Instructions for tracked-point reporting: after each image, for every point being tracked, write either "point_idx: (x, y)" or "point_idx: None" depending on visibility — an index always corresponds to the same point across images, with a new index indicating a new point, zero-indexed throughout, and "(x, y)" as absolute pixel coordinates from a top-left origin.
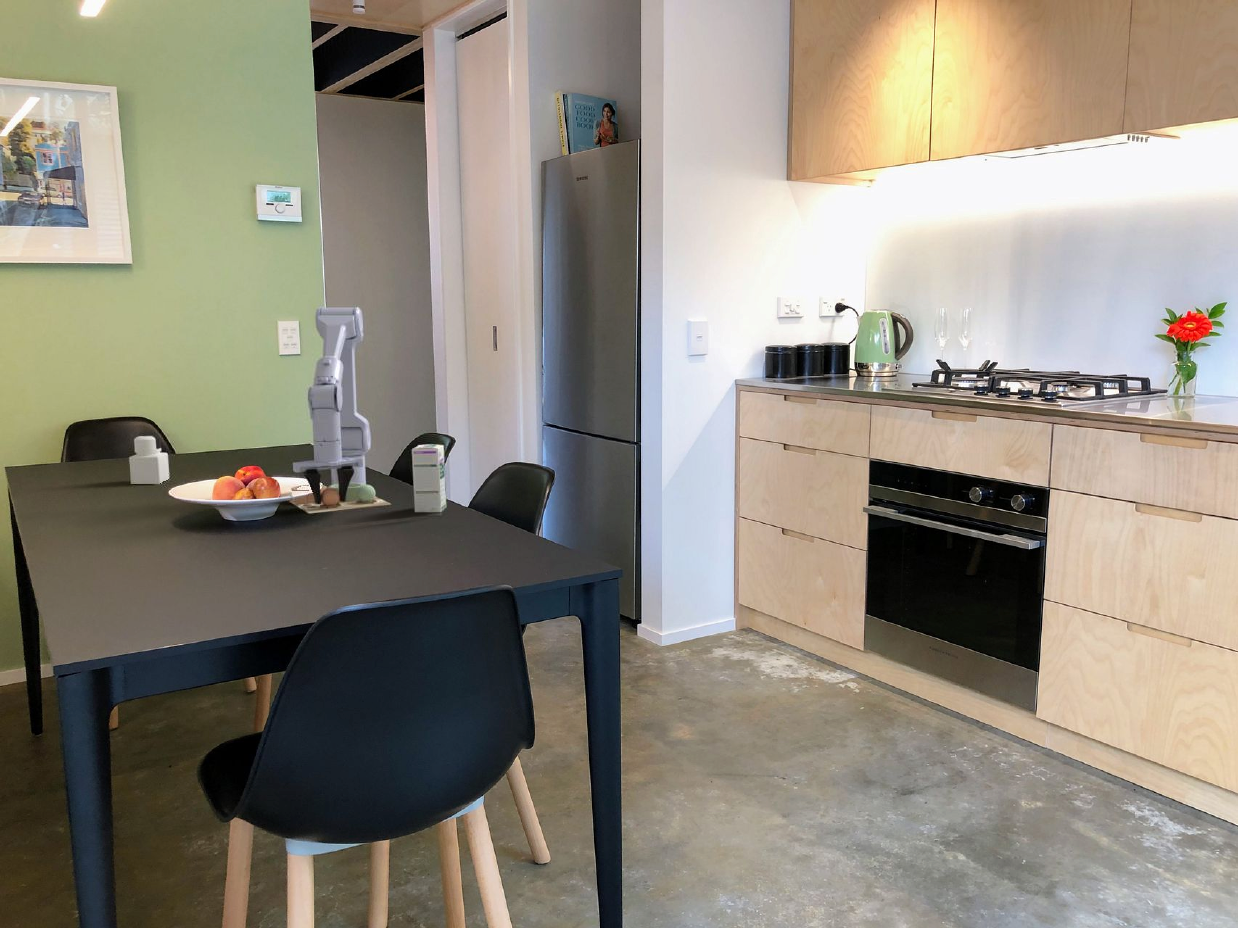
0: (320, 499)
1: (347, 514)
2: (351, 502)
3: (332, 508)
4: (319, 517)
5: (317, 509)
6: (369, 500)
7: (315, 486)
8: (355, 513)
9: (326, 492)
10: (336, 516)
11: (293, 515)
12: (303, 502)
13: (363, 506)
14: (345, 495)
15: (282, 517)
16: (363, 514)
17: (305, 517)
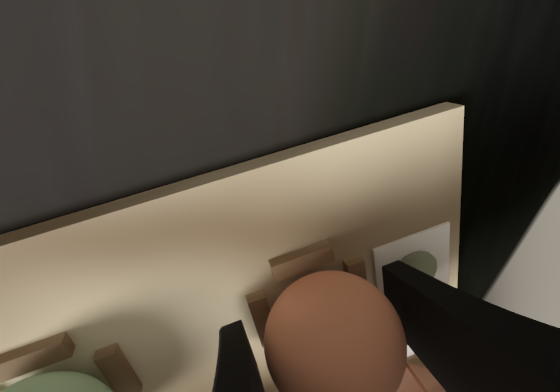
0: (404, 278)
1: (199, 112)
2: (175, 390)
3: (304, 230)
4: (394, 65)
5: (392, 216)
6: (20, 380)
7: (538, 327)
8: (134, 134)
9: (387, 337)
10: (284, 58)
11: (494, 179)
12: (423, 371)
13: (68, 259)
14: (221, 359)
15: (549, 141)
16: (52, 64)
17: (463, 98)
